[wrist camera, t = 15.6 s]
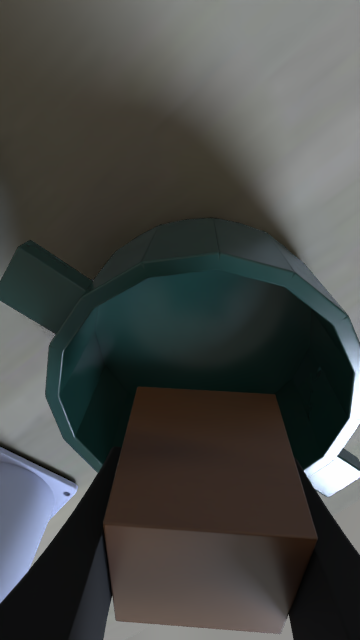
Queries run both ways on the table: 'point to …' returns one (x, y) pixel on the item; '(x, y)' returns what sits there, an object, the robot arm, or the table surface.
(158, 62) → the table surface
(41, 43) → the table surface
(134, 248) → the pot
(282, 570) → the block
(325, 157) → the table surface
